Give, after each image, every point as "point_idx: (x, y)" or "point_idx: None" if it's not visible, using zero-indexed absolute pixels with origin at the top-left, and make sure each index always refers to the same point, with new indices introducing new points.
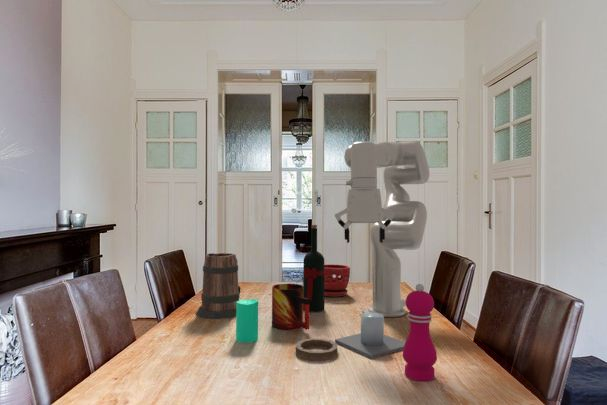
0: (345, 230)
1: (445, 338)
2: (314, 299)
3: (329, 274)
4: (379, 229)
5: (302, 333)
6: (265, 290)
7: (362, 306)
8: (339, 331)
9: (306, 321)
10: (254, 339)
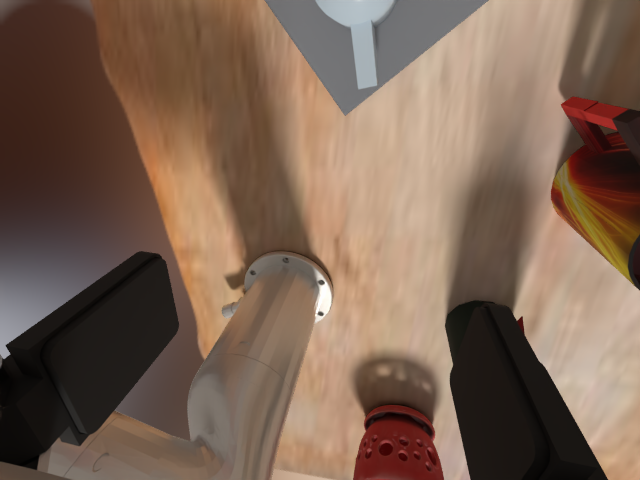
0: (588, 471)
1: (161, 81)
2: None
3: (417, 464)
4: (90, 415)
5: None
6: None
7: (341, 335)
8: (444, 127)
9: (588, 100)
10: None
